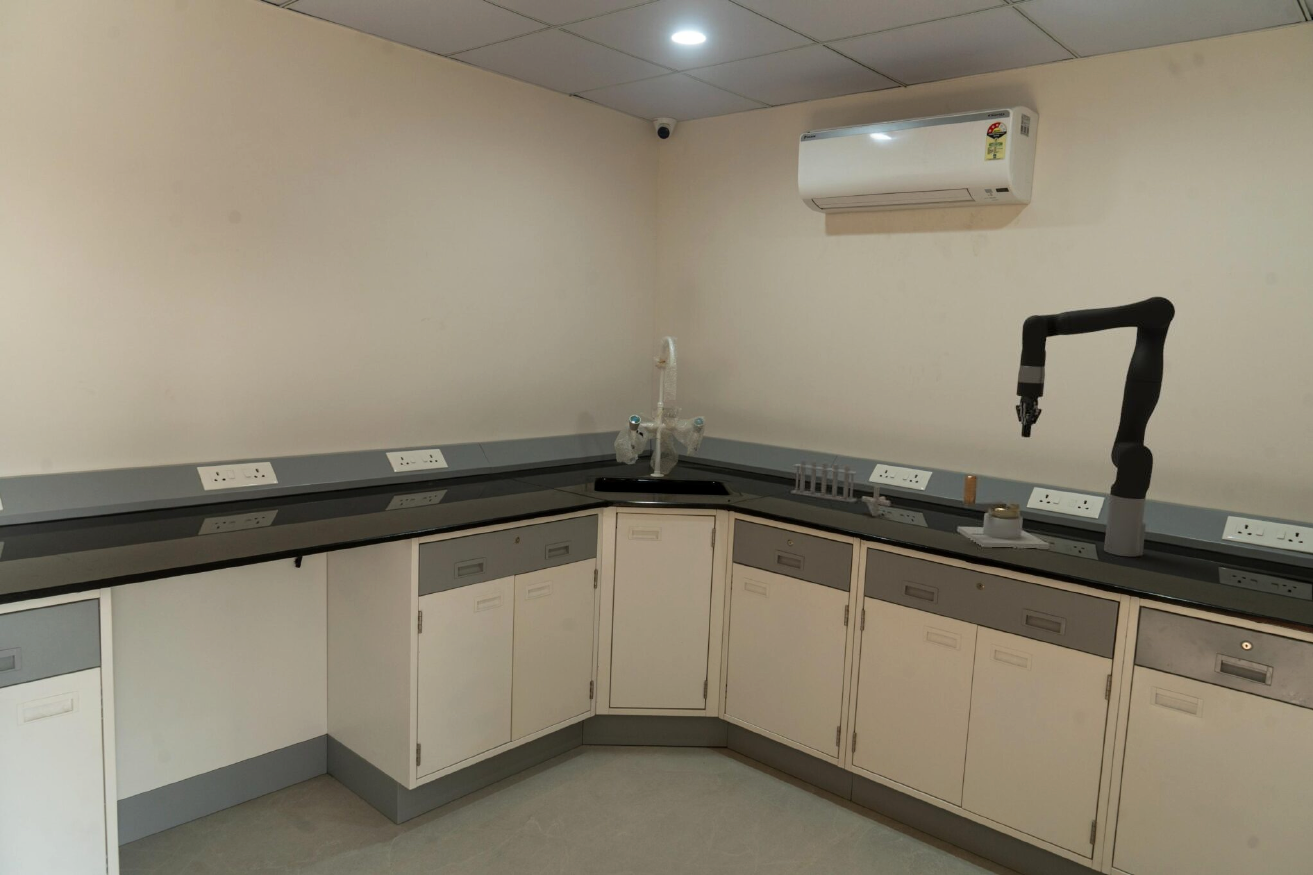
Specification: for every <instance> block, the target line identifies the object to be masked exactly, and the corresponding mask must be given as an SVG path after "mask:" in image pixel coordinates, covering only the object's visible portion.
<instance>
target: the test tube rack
mask: <svg viewBox="0 0 1313 875" xmlns="http://www.w3.org/2000/svg"><path fill="white" fill-rule="evenodd" d="M800 462H801V463H795V464H792V467H796V477H795V478H796V479H795V489H794V490H790V494H794V495H801V496H807V497H813V498H818V499H819V498H820V499H827V500H833V501H838V502H845V503H850V504H851V503H855V502H857V501H858V500H857V498H853V491H854V490H853V487H854V477H855V475H856V474H859V471H854V470H850V468H851V466H850V465H848V464H846V465H845V466H844V469H839V464H838V463H834V464H833V468H832V467H828V462H822V466H817V465H818V464H817V461H816V460H812V461H811V465H809V464H807V460H806V459H801V460H800ZM806 469H811V472H810V473H811V474H810V488H809V490H810V491H807V490H805V485H806V483H805V482H806ZM817 470H820V471H822V472H821V473H822V474H821V487H820V490H821V491H820V492H815V491H816V483H817V482H816V478H817ZM828 472H831V473H832V472H833V473H832V474H833V475H832V487H831V488H832V490H831V494H827V493H826V492H827V480H828V479H827V477H828ZM840 473H841V474H844V478H843V489H842V491H843V494H842V496H840V495H839V496H838V495H837V492H838V480H839V479H838V478H839V474H840ZM799 474H800V477H799ZM850 476H851V477H850ZM799 478H800V479H799ZM799 480H800V481H799ZM849 484H850V486H849ZM849 487H850V489H849ZM849 490H850V492H849ZM848 495H849V497H848Z"/></svg>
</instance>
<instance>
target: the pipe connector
mask: <svg viewBox="0 0 1313 875" xmlns="http://www.w3.org/2000/svg"><path fill="white" fill-rule="evenodd" d="M880 489H881V487H880V486H876V485H874V488H873V497H870V496H861V502H863V503H866V505H867V506H872V513H871V514H872V516H873V517H878V515H879V505H881V506H887V507H890V505H891V501H890V500H886V497H885V496H880Z"/></svg>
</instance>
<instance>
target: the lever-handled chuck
mask: <svg viewBox="0 0 1313 875" xmlns="http://www.w3.org/2000/svg"><path fill="white" fill-rule="evenodd" d="M977 488H978V476H977V475H972V474H966V475H965V476H964V487H963V489H964V490H963V500H962V503H963V504H964V505H963V507H964V508H965V509H988V511H987V513H988V514H989V515H991V516H994V517H1000V518H1010V519H1013V518H1019V516H1021V515H1020V514H1021V508H1020V503H1017V502H1011V503H1010V505H1009V504H1008V505H1007V503H1006V502H1003V501H1000V500H993V501H991V502H983V501H982V502H976V501H977V500H976V499H977V498H976V497H977Z"/></svg>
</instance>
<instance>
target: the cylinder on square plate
mask: <svg viewBox="0 0 1313 875" xmlns="http://www.w3.org/2000/svg"><path fill="white" fill-rule="evenodd" d="M1023 519H1024V517H1022V516H1021V515H1020V516H1019V518H1013V519H1010V518H1000V517H994V516H991V515H989V514H988V512H985V513H984V516H983V526H981V527H980V526H957V529H956V530H957V532H958V533H959V534H961V535H962V536H964V537H965V538H967V539H969V538H970V539H969V540H971V541H972V540H973V541H972V542H974V543H975V542H976V543H975V544H977V545H978V544H979V546H980V545H981V546H980V547H982V548H992V547H1013V548H1012V549H1026V548H1037V549H1036V550H1049V548H1050V544H1049V543H1048V542H1046V541H1044V540H1042V539H1040V538H1039V537H1036V536H1035V535H1032V534H1030V533H1028V532H1026V531H1025V530H1023V522H1024V521H1023ZM1016 547H1017V548H1016Z"/></svg>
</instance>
